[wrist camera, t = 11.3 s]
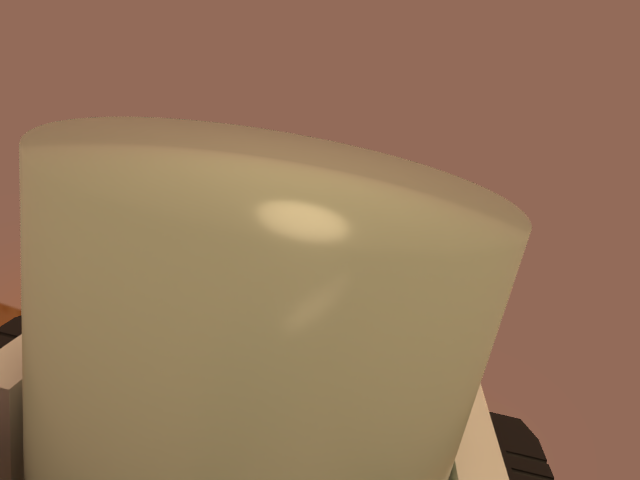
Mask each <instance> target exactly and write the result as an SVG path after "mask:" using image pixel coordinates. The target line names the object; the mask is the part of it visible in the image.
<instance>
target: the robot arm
mask: <svg viewBox="0 0 640 480" xmlns="http://www.w3.org/2000/svg"><path fill="white" fill-rule="evenodd" d="M546 462H547V459H546V457H545V455H544V452H543V450H542V447H541V445H540V442H539V440H538V438H537V437H536V436H535V435H534V434H533V433H532V432H531V431H530V430H529V428H528V427H527V426H526V425H525V424H524V423H523V422H522V421H521V419H518V418H514V417H509V416H505V415H500V414H496V413H492V412H489V410H488V407H487V403H486V400H485V397H484V393H483V390H482V387H481V383H480V386H479V389H478V392H477V395H476V398H475V401H474V404H473V407H472V410H471V413H470V416H469V419H468V422H467V425H466V428H465V431H464V434H463V437H462V440H461V443H460V446H459V449H458V452H457V455H456V458H455V461H454V464H453V467H452V470H451V473H450V476H449V479H448V480H554V476H553V474H552V472H551V469H550V467H549V465H548V464H547V463H546ZM0 480H24V460H23V387H22V315H21V316H18V317H15V318H13V319H12V320H10V321H9V322H7V323H5V324H4V325H2V326H1V327H0Z"/></svg>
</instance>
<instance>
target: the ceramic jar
mask: <svg viewBox="0 0 640 480" xmlns="http://www.w3.org/2000/svg"><path fill="white" fill-rule="evenodd" d="M19 165H20V166H19V167H20V168H19V169H20V238H21V241H20V242H21V315H22V387H23V460H24V480H448V479H449V476H450V473H451V470H452V467H453V464H454V461H455V458H456V455H457V452H458V449H459V446H460V443H461V440H462V437H463V434H464V431H465V428H466V425H467V422H468V419H469V416H470V413H471V410H472V407H473V404H474V401H475V398H476V395H477V392H478V389H479V386H480V383H481V380H482V377H483V374H484V371H485V368H486V364H487V362H488V358H489V356H490V353H491V350H492V347H493V344H494V341H495V338H496V334H497V331H498V329H499V326H500V323H501V320H502V317H503V314H504V311H505V308H506V305H507V301H508V299H509V296H510V292H511V290H512V287H513V283H514V281H515V278H516V275H517V271H518V268H519V266H520V262H521V260H522V256H523V254H524V250H525V247H526V244H527V242H528V238H529V235H530V232H531V229H532V226H531V222H530V219H529V218H528V217H527V216H526V214H525V213H524V212H523V211H522V210H520V209H519V208H518V207H517V206H516V205H514V204H513V203H511V202H510V201H508V200H507V199H505V198H503V197H502V196H500V195H498V194H496V193H494V192H492V191H490V190H488V189H486V188H484V187H482V186H479V185H477V184H475V183H473V182H470V181H468V180H465V179H463V178H460V177H458V176H455V175H452V174H449V173H446V172H444V171H441V170H438V169H435V168H432V167H429V166H426V165H423V164H420V163H416V162H413V161H409V160H406V159H402V158H399V157H395V156H391V155H388V154H384V153H380V152H376V151H372V150H369V149H365V148H360V147H356V146H352V145H347V144H343V143H338V142H334V141H329V140H324V139H319V138H314V137H309V136H303V135H298V134H293V133H287V132H281V131H274V130H268V129H262V128H255V127H248V126H241V125H233V124H225V123H216V122H206V121H197V120H185V119H172V118H154V117H92V118H80V119H70V120H64V121H57V122H52V123H49V124H45V125H41V126H38V127H36V128H34V129H32V130H30V131H28V132H27V133H26V134H25V135H23V136H22V137H21V141H20V144H19Z"/></svg>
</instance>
